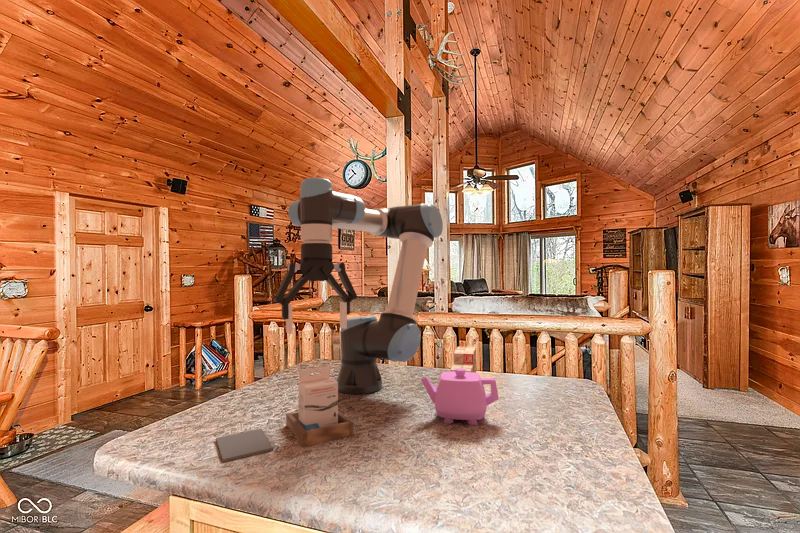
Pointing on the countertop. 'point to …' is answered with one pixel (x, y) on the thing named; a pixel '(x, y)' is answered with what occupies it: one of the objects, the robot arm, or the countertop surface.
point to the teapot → (461, 395)
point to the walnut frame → (319, 430)
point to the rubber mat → (243, 445)
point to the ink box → (317, 399)
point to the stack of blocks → (465, 359)
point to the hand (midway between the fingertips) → (317, 330)
